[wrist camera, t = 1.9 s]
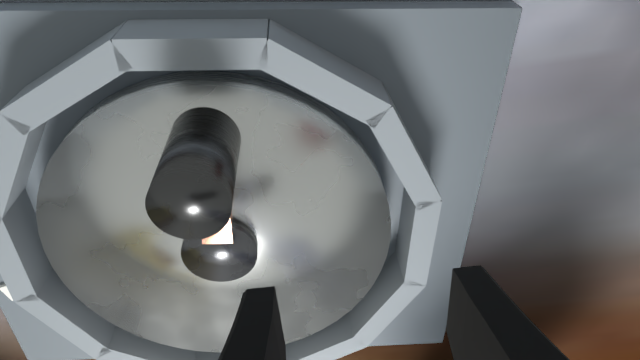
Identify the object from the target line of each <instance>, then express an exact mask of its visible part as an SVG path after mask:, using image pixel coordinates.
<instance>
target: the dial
mask: <svg viewBox="0 0 640 360" xmlns="http://www.w3.org/2000/svg"><path fill="white" fill-rule="evenodd" d="M36 219H37V226H38V233H39V237H40V240H41V243H42V246H43V249H44V252H45V254H46V256H47V258H48V260H49V262H50V264H51V266H52V268H53V269H54V271H55V272H56V273H57V275H58V276H59V278H60V279H61V281H62V282H63V283H64V284H65V285H66V287H67V288H68V289H69V290H70V291H71V292H72V293H73V294H74V295H75V296H76V297H77V298H78V299H79V300H80V301H81V302H82V303H84V304H85V305H86V306H87V307H88V308H89V309H91V310H92V311H94V312H95V313H96V314H98V315H99V316H101V317H102V318H104V319H105V320H107V321H108V322H110V323H112V324H114V325H116V326H117V327H119V328H121V329H123V330H125V331H127V332H130V333H132V334H134V335H137V336H139V337H141V338H144V339H147V340H150V341H153V342H156V343H159V344H163V345H167V346H172V347H176V348H181V349H187V350H193V351H202V352H215V353H221V352H222V350H223V347H224V345H225V343H226V340H227V338H228V335H229V332H230V330H231V327H232V325H233V322H234V319H235V317H236V314H237V311H238V308H239V305H240V301H241V298H242V294H243V292H245V291H246V290H247V289H252V288H262V287H272V286H275V290H276V296H277V301H278V307H279V312H280V318H281V323H282V329H283V334H284V340H285V344H288V343H291V342H294V341H297V340H300V339H303V338H305V337H308V336H310V335H312V334H314V333H316V332H318V331H320V330H322V329H324V328H326V327H327V326H329V325H331V324H332V323H334V322H336V321H337V320H339V319H340V318H341V317H343V316H344V315H345V314H346V313H348V312H349V311H350V310H351V309H352V308H354V307H355V306H356V305H357V304H358V303H359V302H360V301H361V300H362V299H363V297H364V296H365V295H366V294H367V292H368V291H369V290H370V288H371V287H372V286H373V284H374V283H375V281H376V279H377V277H378V276H379V274H380V272H381V270H382V268H383V265H384V262H385V260H386V257H387V254H388V249H389V244H390V239H391V217H390V210H389V204H388V200H387V197H386V194H385V190H384V187H383V184H382V180H381V177H380V174H379V171H378V168H377V166H376V164H375V162H374V160H373V158H372V156H371V154H370V153H369V151H368V150H367V148H366V147H365V145H364V144H363V143H362V141H361V140H360V138H359V137H358V136H357V135H356V134H355V133H354V132H353V130H352V129H351V128H350V127H349V126H348V125H347V124H346V123H345V122H344V121H343V120H342V119H340V118H339V117H338V116H337V115H335V114H334V113H333V112H332V111H330V110H329V109H328V108H327V107H325V106H324V105H322V104H320V103H319V102H317V101H315V100H314V99H312V98H310V97H309V96H307V95H305V94H303V93H301V92H299V91H296V90H294V89H292V88H290V87H287V86H285V85H283V84H280V83H276V82H273V81H270V80H266V79H263V78H260V77H256V76H250V75H244V74H239V73H233V72H218V71H195V72H182V73H174V74H169V75H164V76H159V77H155V78H151V79H148V80H145V81H142V82H139V83H136V84H133V85H131V86H128V87H126V88H124V89H122V90H120V91H118V92H116V93H114V94H112V95H111V96H109V97H107V98H105V99H104V100H103V101H101V102H100V103H99V104H97V105H96V106H94V107H93V108H92V109H90V110H89V111H88V112H87V113H86V114H85V115H84V116H83V117H82V118H81V119H80V120H79V121H78V122H77V123H76V124H75V125H74V126H73V127H72V129H71V130H70V132H69V133H68V134H67V136H66V137H65V138H64V140H63V141H62V143H61V144H60V145H59V147H58V148H57V150H56V151H55V153H54V154H53V155H52V157H51V158H50V160H49V162H48V164H47V166H46V169H45V171H44V173H43V175H42V177H41V181H40V185H39V190H38V194H37V204H36Z"/></svg>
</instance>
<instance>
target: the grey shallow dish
mask: <svg viewBox="0 0 640 360" xmlns="http://www.w3.org/2000/svg"><path fill="white" fill-rule="evenodd" d="M521 12H522V7H520V6H519V5H517V4H516V3H514V2H513V1H511V0H474V1H241V2H8V3H0V307H1V309H2V311H3V313H4V315H5V317H6V319H7V321H8V323H9V325H10V327H11V329H12V331H13V332H14V334H15V336H16V338H17V340H18V342H19V344H20V346H21V348H22V350H23V352H24V354H25V355H26V357H27V359H28V360H78V359H96V360H218V359H219V356H220V354H221V353H215V352H202V351H193V350H187V349H181V348H176V347H172V346H167V345H163V344H159V343H156V342H153V341H150V340H147V339H144V338H141V337H139V336H137V335H134V334H132V333H130V332H127V331H125V330H123V329H121V328H119V327H117V326H116V325H114V324H112V323H110V322H108V321H107V320H105V319H104V318H102V317H101V316H99V315H98V314H96V313H95V312H94V311H92V310H91V309H89V308H88V307H87V306H86V305H85V304H84V303H82V302H81V301H80V300H79V299H78V298H77V297H76V296H75V295H74V294H73V293H72V292H71V291H70V290H69V289H68V288H67V287H66V285H65V284H64V283H63V282H62V281H61V279H60V278H59V276H58V275H57V273H56V272H55V271H54V269H53V268H52V266H51V264H50V262H49V260H48V258H47V256H46V254H45V252H44V249H43V246H42V243H41V240H40V237H39V233H38V226H37V219H36V204H37V194H38V190H39V185H40V181H41V177H42V175H43V173H44V171H45V169H46V166H47V164H48V162H49V160H50V158H51V157H52V155H53V154H54V153H55V151H56V150H57V148H58V147H59V145H60V144H61V143H62V141H63V140H64V138H65V137H66V136H67V134H68V133H69V132H70V130H71V129H72V127H73V126H74V125H75V124H76V123H77V122H78V121H79V120H80V119H81V118H82V117H83V116H84V115H85V114H86V113H87V112H88V111H89V110H90V109H92V108H93V107H94V106H96V105H97V104H99V103H100V102H101V101H103V100H104V99H105V98H107V97H109V96H111V95H112V94H114V93H116V92H118V91H120V90H122V89H124V88H126V87H128V86H131V85H133V84H136V83H139V82H142V81H145V80H148V79H151V78H155V77H159V76H164V75H169V74H174V73H182V72H195V71H218V72H233V73H239V74H244V75H250V76H256V77H260V78H263V79H266V80H270V81H273V82H276V83H280V84H283V85H285V86H287V87H290V88H292V89H294V90H296V91H299V92H301V93H303V94H305V95H307V96H309V97H310V98H312V99H314V100H315V101H317V102H319V103H320V104H322V105H324V106H325V107H327V108H328V109H329V110H330V111H332V112H333V113H334V114H335V115H337V116H338V117H339V118H340V119H342V120H343V121H344V122H345V123H346V124H347V125H348V126H349V127H350V128H351V129H352V130H353V132H354V133H355V134H356V135H357V136H358V137H359V138H360V140H361V141H362V143H363V144H364V145H365V147H366V148H367V150H368V151H369V153H370V154H371V156H372V158H373V160H374V162H375V164H376V166H377V168H378V171H379V174H380V177H381V180H382V184H383V187H384V190H385V194H386V197H387V200H388V204H389V210H390V217H391V239H390V244H389V249H388V254H387V257H386V260H385V262H384V265H383V268H382V270H381V272H380V274H379V276H378V277H377V279H376V281H375V283H374V284H373V286H372V287H371V288H370V290H369V291H368V292H367V294H366V295H365V296H364V297H363V299H362V300H361V301H360V302H359V303H358V304H357V305H356V306H355V307H354V308H352V309H351V310H350V311H349V312H348V313H346V314H345V315H344V316H343V317H341V318H340V319H339V320H337V321H336V322H334V323H332V324H331V325H329V326H327V327H326V328H324V329H322V330H320V331H318V332H316V333H314V334H312V335H310V336H308V337H305V338H303V339H300V340H297V341H294V342H291V343H288V344H285V345H286V360H336V359H338V358H341V357H343V356H346V355H348V354H351V353H353V352H356V351H358V350H361V349H363V348H366V346H382V345H404V344H425V343H442V342H443V338H444V334H445V330H446V325H447V316H448V307H449V297H450V288H451V279H452V270H453V268H460V267H461V263H462V259H463V254H464V250H465V246H466V242H467V238H468V233H469V229H470V225H471V221H472V217H473V213H474V208H475V204H476V200H477V196H478V192H479V187H480V183H481V179H482V175H483V171H484V166H485V162H486V158H487V154H488V150H489V146H490V141H491V137H492V133H493V129H494V125H495V120H496V116H497V112H498V108H499V104H500V100H501V95H502V91H503V87H504V83H505V79H506V74H507V70H508V66H509V62H510V58H511V54H512V49H513V45H514V41H515V37H516V33H517V28H518V24H519V20H520V16H521Z"/></svg>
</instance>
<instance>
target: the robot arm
mask: <svg viewBox="0 0 640 360" xmlns="http://www.w3.org/2000/svg"><path fill="white" fill-rule="evenodd" d="M446 331H447V335H448V339H449V343H450V347H451V351H452V355H453V359H454V360H569V359H568V358H567V357H566V356H565V355H564V354H563V353H562V352H561V351H560V350H559V349H558V348H557V347H556V346H555V345H554V344H553V343H552V342H551V341H550V340H549V339H548V338H547V337H546V336H545V335H544V334H543V333H542V332H541V331H540V330H539V329H538V328H537V327H536V326H535V325H534V324H533V323H532V321H531V320H530V319H529V318H528V317H527V316H526V315H525V314H524V313H523V312H522V311H521V310H520V309H519V307H518V306H517V305H516V304H515V303H514V302H513V301H512V300H511V299H510V298H509V296H508V295H507V294H506V293H505V292H504V291H503V290H502V289H501V287H500V286H499V285H498V284H497V283H496V282H495V281H494V279H493V278H492V277H491V276H490V275H489V274H488V273H487V271H486V270H485V269H484V268H483V267H481V266H472V267H462V268H453V270H452V279H451V288H450V297H449V307H448V316H447V325H446ZM218 360H286V345H285V340H284V334H283V329H282V323H281V318H280V312H279V307H278V301H277V296H276V290H275V286H272V287H262V288H252V289H247V290H246V291H245V292H243V294H242V298H241V301H240V305H239V308H238V311H237V314H236V317H235V319H234V322H233V325H232V327H231V330H230V332H229V335H228V338H227V340H226V343H225V345H224V347H223V350H222V352H221V354H220V356H219V359H218Z"/></svg>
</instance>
